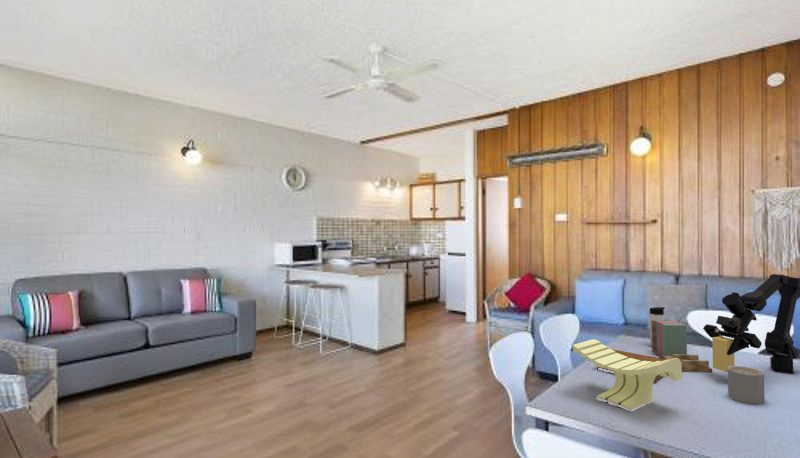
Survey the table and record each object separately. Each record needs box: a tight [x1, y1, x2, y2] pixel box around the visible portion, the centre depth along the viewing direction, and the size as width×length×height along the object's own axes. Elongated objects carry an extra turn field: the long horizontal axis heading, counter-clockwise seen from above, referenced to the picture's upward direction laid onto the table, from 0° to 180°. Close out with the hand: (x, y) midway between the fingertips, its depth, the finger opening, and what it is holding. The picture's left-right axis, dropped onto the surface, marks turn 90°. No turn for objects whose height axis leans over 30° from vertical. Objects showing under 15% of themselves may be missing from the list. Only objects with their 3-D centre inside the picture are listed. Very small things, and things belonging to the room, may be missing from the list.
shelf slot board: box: [651, 319, 713, 374], centre depth 191 cm, size 12×28×16 cm, turn 171°
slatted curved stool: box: [572, 338, 683, 410], centre depth 151 cm, size 30×16×18 cm, turn 33°
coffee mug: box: [727, 365, 766, 405], centre depth 151 cm, size 13×10×10 cm
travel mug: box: [649, 306, 665, 348], centre depth 214 cm, size 6×7×20 cm
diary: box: [597, 348, 667, 384], centre depth 181 cm, size 23×19×6 cm
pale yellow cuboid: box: [711, 336, 735, 373], centre depth 166 cm, size 4×5×12 cm
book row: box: [656, 321, 688, 356], centre depth 199 cm, size 9×9×14 cm
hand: (720, 352), depth 165 cm, fingers closed on pale yellow cuboid, 5 cm apart
